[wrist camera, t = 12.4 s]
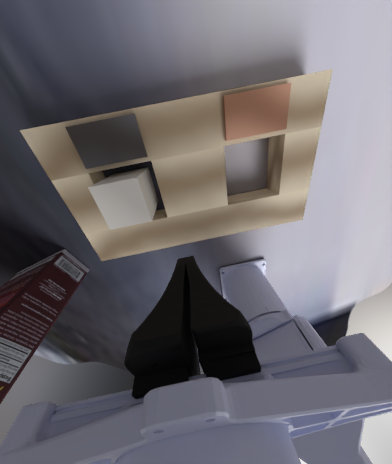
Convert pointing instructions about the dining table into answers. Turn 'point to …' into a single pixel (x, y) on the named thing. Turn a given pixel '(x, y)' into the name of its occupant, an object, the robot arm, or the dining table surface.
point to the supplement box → (33, 310)
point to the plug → (126, 198)
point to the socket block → (190, 161)
